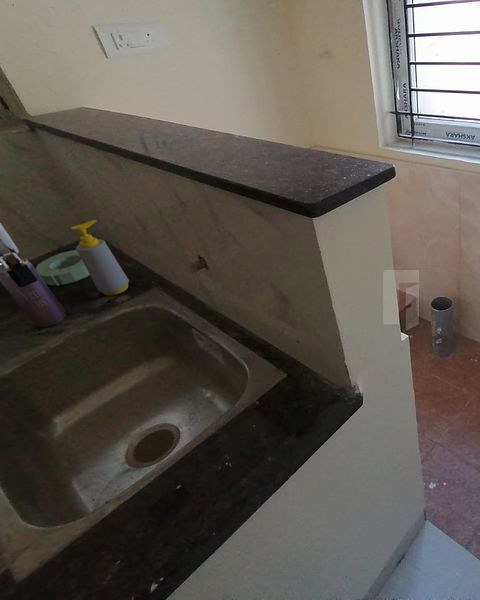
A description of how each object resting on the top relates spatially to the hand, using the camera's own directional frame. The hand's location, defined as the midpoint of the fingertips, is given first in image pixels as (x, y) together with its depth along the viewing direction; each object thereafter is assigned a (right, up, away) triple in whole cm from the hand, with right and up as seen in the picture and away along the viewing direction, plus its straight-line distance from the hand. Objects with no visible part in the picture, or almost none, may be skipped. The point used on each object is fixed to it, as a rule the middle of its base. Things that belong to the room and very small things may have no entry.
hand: (21, 276), depth 82 cm
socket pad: (-10, +3, +24) cm, 26 cm away
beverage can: (0, -10, +7) cm, 12 cm away
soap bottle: (+8, -2, +17) cm, 19 cm away
